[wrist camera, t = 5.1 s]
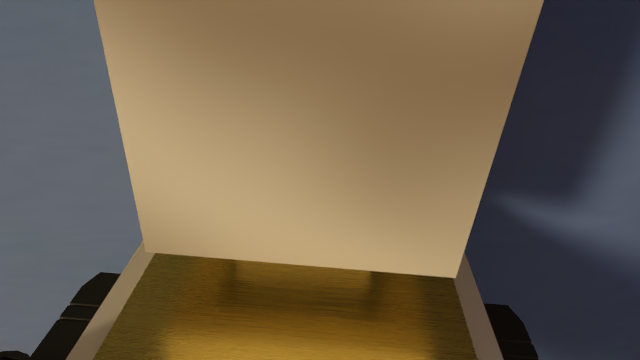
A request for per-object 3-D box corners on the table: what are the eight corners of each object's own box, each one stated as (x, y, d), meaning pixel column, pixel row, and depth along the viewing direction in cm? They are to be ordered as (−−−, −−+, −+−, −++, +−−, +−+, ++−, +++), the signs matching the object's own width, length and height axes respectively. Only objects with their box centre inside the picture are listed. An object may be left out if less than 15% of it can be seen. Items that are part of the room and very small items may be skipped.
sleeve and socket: (177, -355, 8) (-126, -860, 3) (522, -334, 8) (849, -813, 3) (237, 430, 23) (206, 578, 17) (359, 441, 22) (362, 592, 17)
